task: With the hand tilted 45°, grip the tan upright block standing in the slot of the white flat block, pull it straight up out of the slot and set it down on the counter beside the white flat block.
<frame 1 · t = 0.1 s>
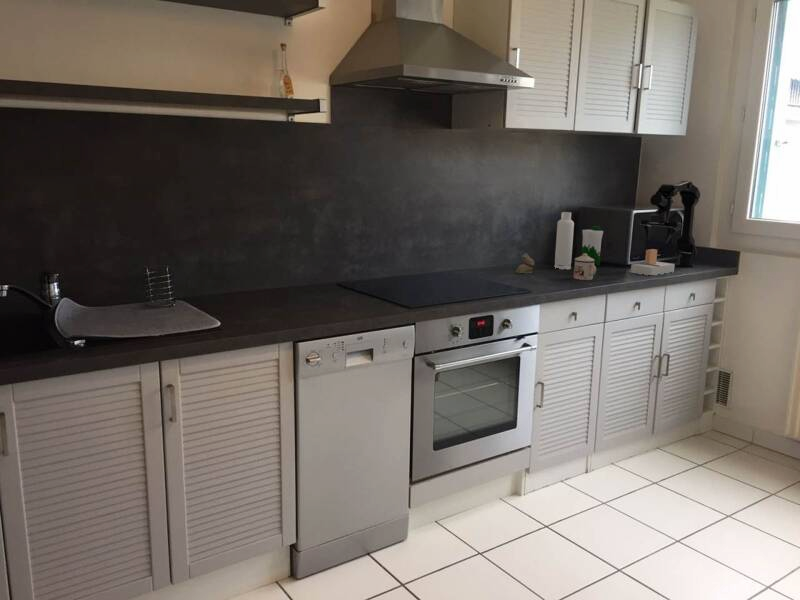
hand: (656, 241, 315), 15 cm above the worktop, tool pointing down, fingers open, 9 cm apart
milk carton: (589, 264, 341), on the worktop
chocolate bunny: (524, 273, 312), on the worktop
bottle: (562, 268, 328), on the worktop
tan upright block: (649, 272, 321), resting in white flat block
white flat block: (649, 271, 321), on the worktop
teacup with lid: (585, 279, 299), on the worktop
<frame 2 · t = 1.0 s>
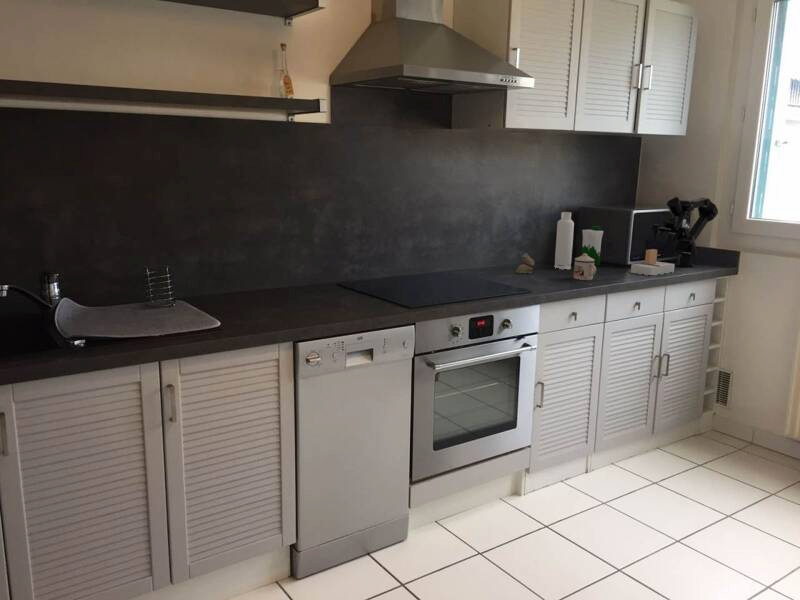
hand: (662, 244, 323), 13 cm above the worktop, tool tilted 45°, fingers open, 9 cm apart
nothing on the worktop moved.
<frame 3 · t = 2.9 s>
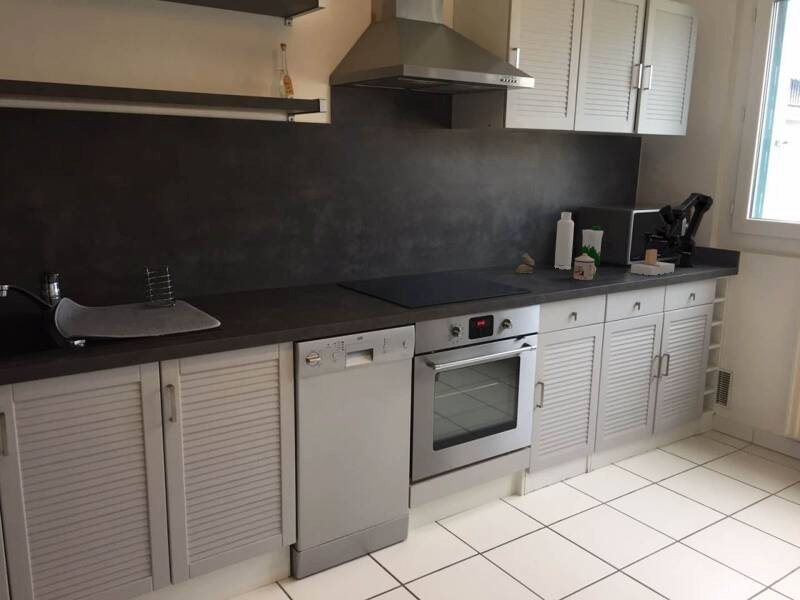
hand: (653, 252, 320), 10 cm above the worktop, tool tilted 45°, fingers open, 9 cm apart
nothing on the worktop moved.
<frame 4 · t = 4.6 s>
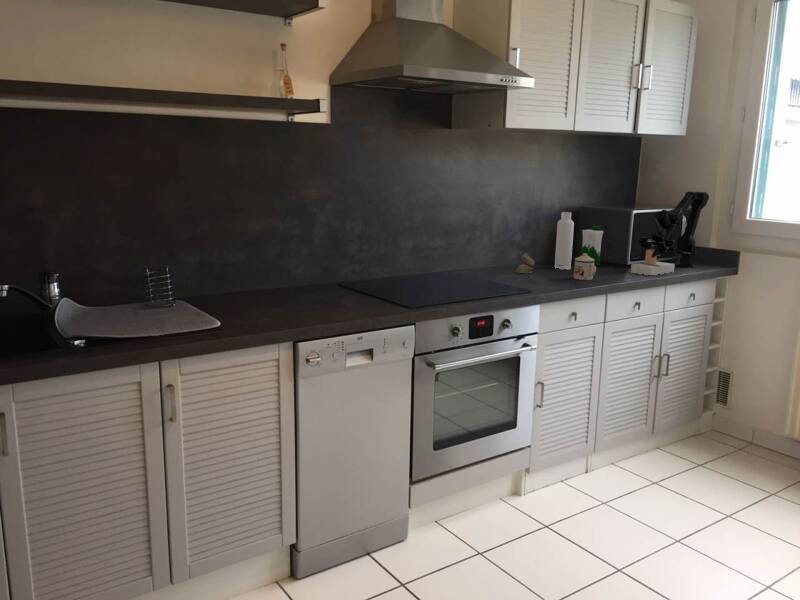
hand: (649, 256, 319), 8 cm above the worktop, tool tilted 45°, fingers closed on tan upright block, 2 cm apart
tan upright block: (649, 271, 321), resting in white flat block, touching gripper
everything else where it was.
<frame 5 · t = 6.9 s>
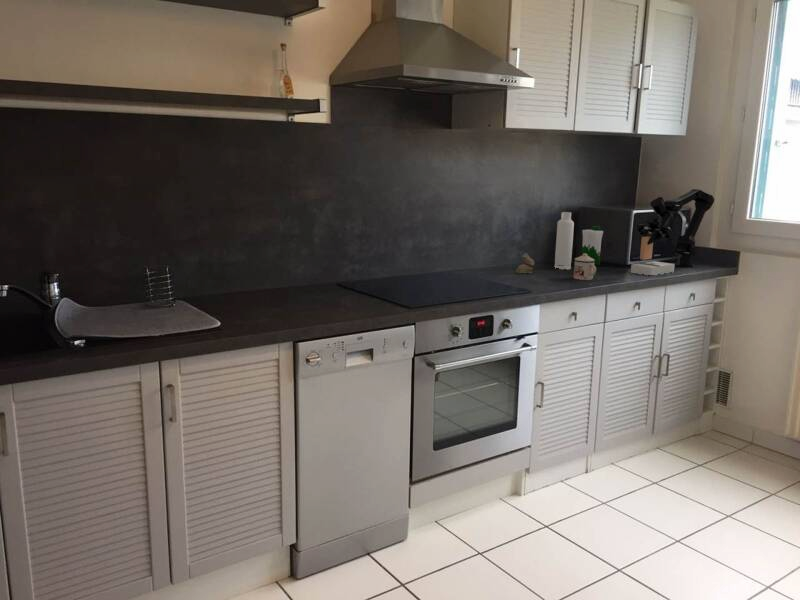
hand: (645, 243, 322), 13 cm above the worktop, tool tilted 45°, fingers closed on tan upright block, 2 cm apart
tan upright block: (645, 258, 324), point 6 cm above the worktop, touching gripper
everything else where it was.
when the fingers open (9 cm above the worktop, at t = 9.2 s): tan upright block stays where it is, on the worktop.
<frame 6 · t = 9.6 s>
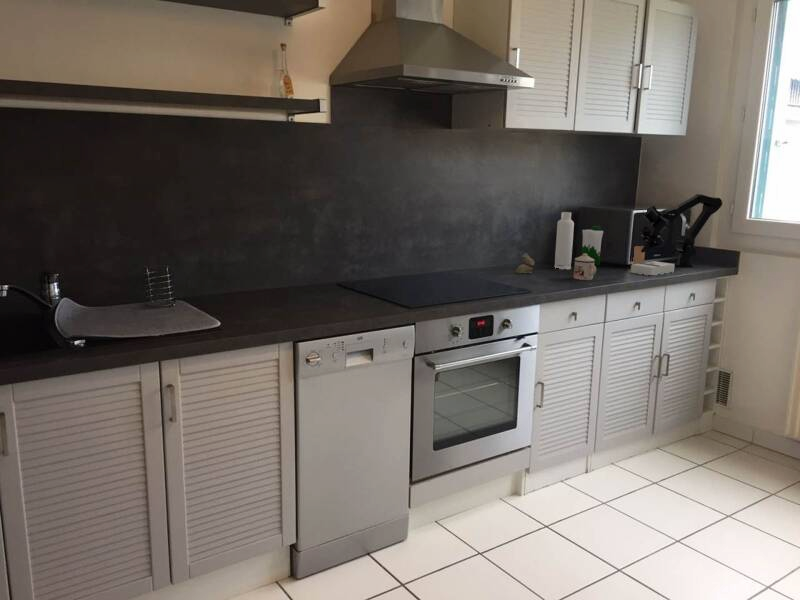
hand: (636, 251, 332), 9 cm above the worktop, tool tilted 45°, fingers open, 7 cm apart
tan upright block: (637, 267, 334), on the worktop
everything else where it was.
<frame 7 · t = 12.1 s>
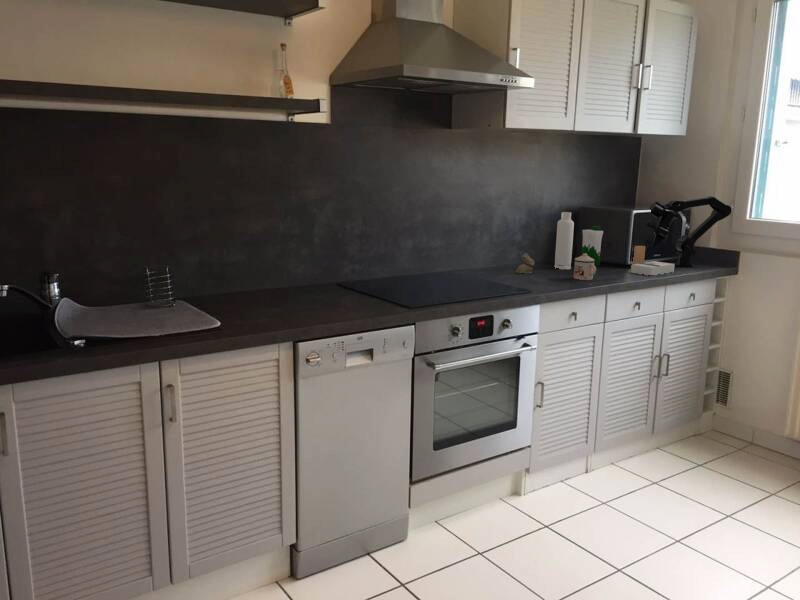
hand: (650, 248, 335), 9 cm above the worktop, tool tilted 30°, fingers open, 9 cm apart
nothing on the worktop moved.
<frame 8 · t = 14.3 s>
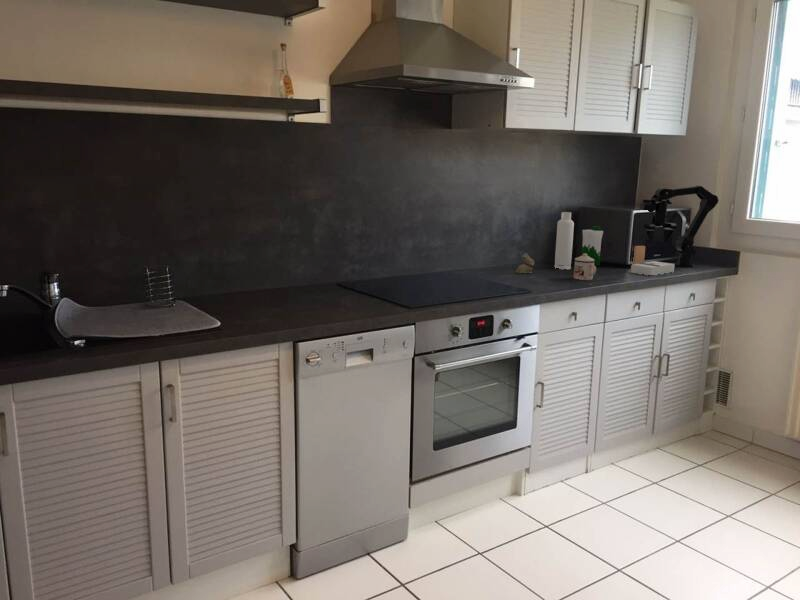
hand: (657, 243, 338), 12 cm above the worktop, tool pointing down, fingers open, 9 cm apart
nothing on the worktop moved.
at the end: tan upright block inside the target area (0.5 cm from its centre), on the worktop; tan upright block moved 13.0 cm from its start; the gripper is holding nothing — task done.
